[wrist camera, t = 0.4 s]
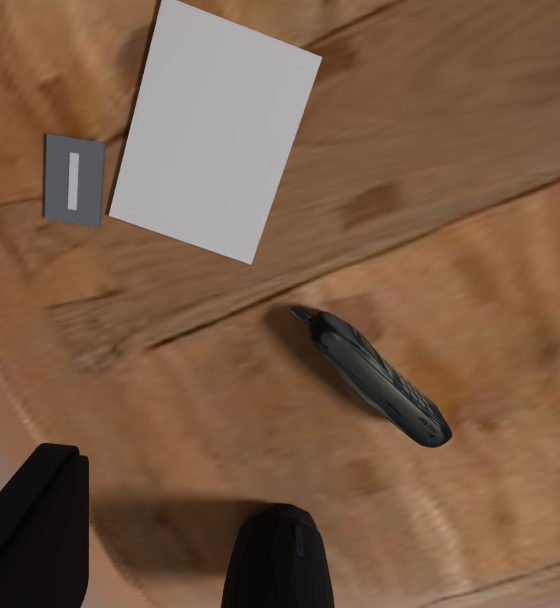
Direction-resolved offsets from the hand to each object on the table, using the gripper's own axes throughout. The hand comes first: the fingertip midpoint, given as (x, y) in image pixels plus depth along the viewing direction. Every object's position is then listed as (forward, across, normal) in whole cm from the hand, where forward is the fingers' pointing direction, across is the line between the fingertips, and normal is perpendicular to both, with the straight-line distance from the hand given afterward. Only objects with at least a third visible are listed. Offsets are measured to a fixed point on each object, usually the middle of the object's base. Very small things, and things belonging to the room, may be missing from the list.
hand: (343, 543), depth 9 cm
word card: (+30, +17, -3) cm, 34 cm away
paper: (+29, +7, -7) cm, 31 cm away
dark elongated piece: (+30, -7, +9) cm, 32 cm away
